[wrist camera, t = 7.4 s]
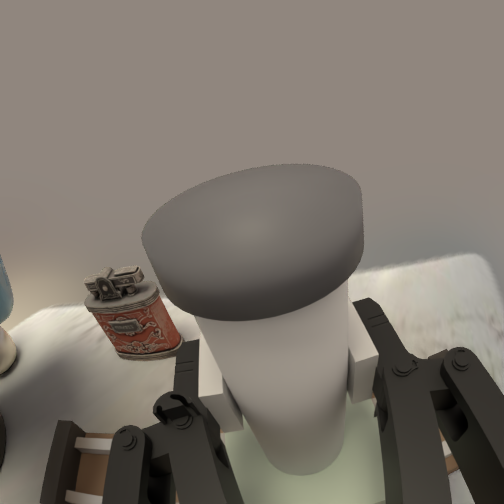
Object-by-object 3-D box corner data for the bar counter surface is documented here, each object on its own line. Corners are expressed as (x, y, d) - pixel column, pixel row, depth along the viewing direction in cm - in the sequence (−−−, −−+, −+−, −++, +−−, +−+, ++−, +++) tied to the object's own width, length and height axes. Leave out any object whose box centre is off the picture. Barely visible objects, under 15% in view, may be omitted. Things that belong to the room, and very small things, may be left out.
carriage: (246, 535, 11) (1, 396, 3) (235, 410, 19) (131, 185, 11) (394, 501, 11) (554, 267, 3) (352, 383, 18) (344, 134, 10)
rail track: (73, 518, 13) (39, 502, 11) (85, 442, 20) (58, 420, 18) (474, 459, 12) (498, 437, 10) (434, 380, 19) (446, 349, 17)
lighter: (114, 361, 29) (65, 288, 24) (123, 339, 32) (81, 267, 27) (182, 359, 28) (138, 276, 23) (187, 334, 31) (150, 253, 26)
